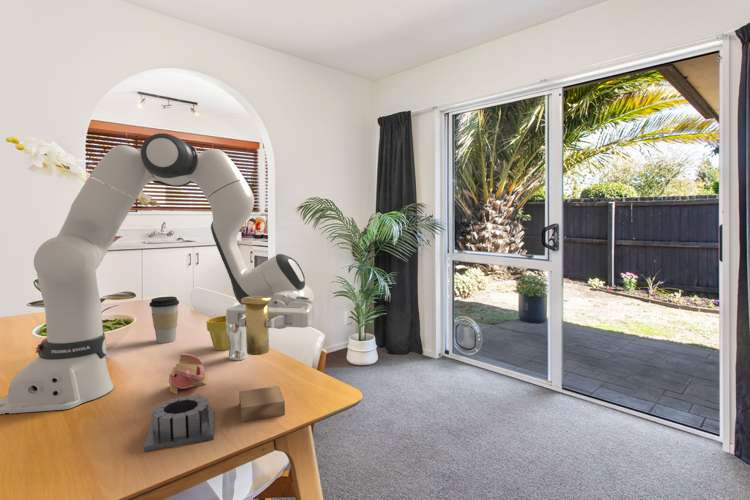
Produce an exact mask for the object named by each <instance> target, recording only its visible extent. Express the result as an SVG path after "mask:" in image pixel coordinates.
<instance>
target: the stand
mask: <svg viewBox="0 0 750 500" xmlns="http://www.w3.org/2000/svg"><path fill="white" fill-rule="evenodd" d="M238 393H239V396H238V397H239V398H238V399H239V400H238V401H239V402H238V403H239V410H240V411H239V412H240V417H241V422H249V421H254V420H260V419H266V418H271V417H278V416H279V417H280V416H284V415H286V408H285V407H286V405H285V403H286V402H285V398H284V396H283V393H282V391H281V387H280V385H277V386H276V385H275V386H274V385H273V386H268V387H262V388H254V389H248V390H239V391H238Z"/></svg>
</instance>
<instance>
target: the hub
mask: <svg viewBox="0 0 750 500" xmlns="http://www.w3.org/2000/svg"><path fill="white" fill-rule="evenodd" d="M214 436H215V408H209V399H207V398H205V397H204V396H202V397H201V396H200V395H190V396H189V395H185V396H178V397H176V398H175V397H174V398H171V399H168V400H165V401H163V402H160V403H159V404H157V405H156V406H154V408H153V409H152V412H151V423H150V425H149V428H148V432H147V435H146V438H145V441H144V444H143V452H144V453H145V452H150V451H157V450H163V449H168V448H174V447H179V446H184V445H190V444H197V443H201V442H206V441H211V440H212V441H213V440H214V439H215V438H214Z"/></svg>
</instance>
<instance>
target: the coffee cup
mask: <svg viewBox="0 0 750 500" xmlns="http://www.w3.org/2000/svg"><path fill="white" fill-rule="evenodd" d="M179 304H180V301H179V300H178V298H177V297H176V296H158V297H154V298H152V299H151V302H149V307H150V308H151V317H152V324H153V325H152V326H153V329H154V331H155V339H156V343H158V344H168V343H172V342H175V341H177V340H176V338H177V327H178V317H179V315H178V313H179V310H178V309H179Z"/></svg>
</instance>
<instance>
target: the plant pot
mask: <svg viewBox="0 0 750 500" xmlns="http://www.w3.org/2000/svg"><path fill="white" fill-rule="evenodd" d="M206 331H208V332H209V335H210V339H211V342H212V347H213V349H214V350H215V351H228V350H229V340H228V336H227V331H226V315H218V316H214V317H213V316H212V317H211V318H208V319H207V320H206Z"/></svg>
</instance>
